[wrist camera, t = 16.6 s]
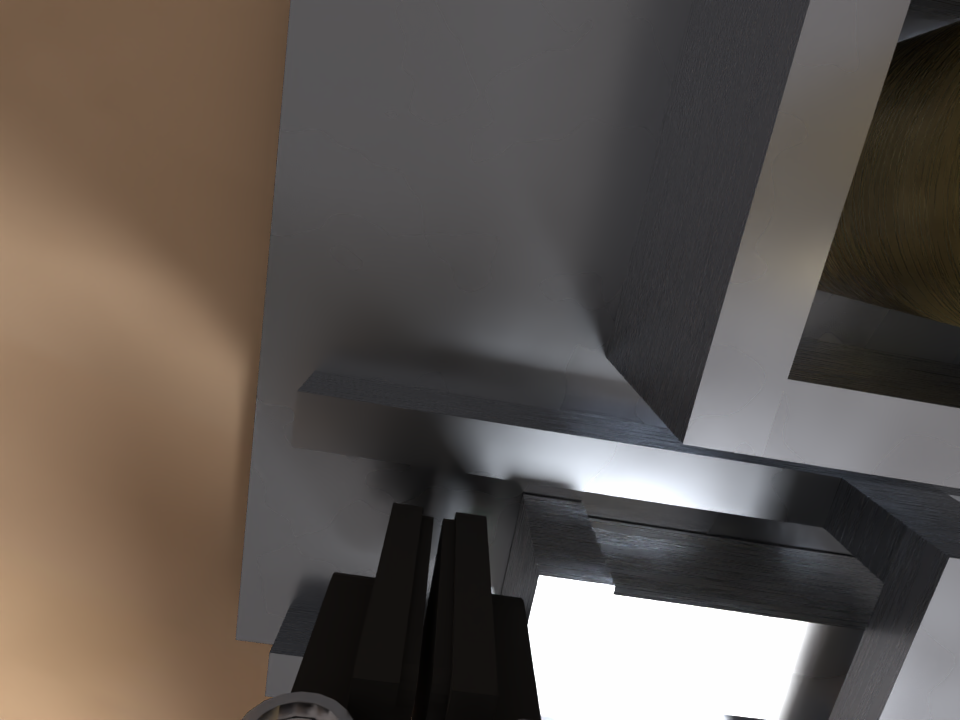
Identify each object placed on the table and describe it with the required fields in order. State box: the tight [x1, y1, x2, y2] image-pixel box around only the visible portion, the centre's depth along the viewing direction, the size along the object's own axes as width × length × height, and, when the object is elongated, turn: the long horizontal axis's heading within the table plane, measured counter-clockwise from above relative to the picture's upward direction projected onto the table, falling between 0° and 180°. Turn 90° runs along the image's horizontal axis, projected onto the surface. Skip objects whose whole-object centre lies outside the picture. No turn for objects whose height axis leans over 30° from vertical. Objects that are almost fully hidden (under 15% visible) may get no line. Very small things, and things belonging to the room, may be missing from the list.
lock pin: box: [501, 494, 884, 720], centre depth 11 cm, size 9×3×3 cm, turn 80°
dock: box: [236, 0, 960, 720], centre depth 9 cm, size 16×16×5 cm
